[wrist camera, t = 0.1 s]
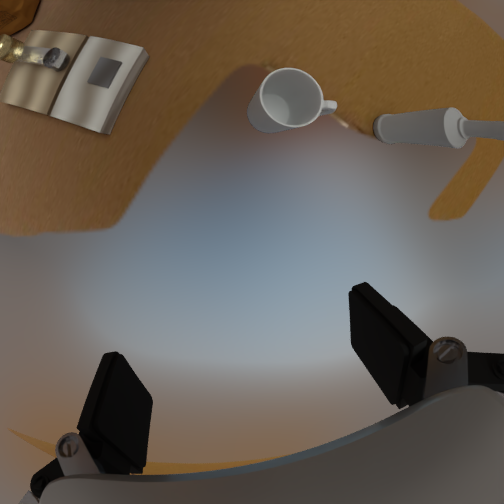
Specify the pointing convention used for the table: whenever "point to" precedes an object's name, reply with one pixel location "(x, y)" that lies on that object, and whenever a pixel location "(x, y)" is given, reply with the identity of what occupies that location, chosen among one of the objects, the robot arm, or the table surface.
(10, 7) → the coffee package
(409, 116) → the bottle
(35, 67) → the stone-look twin blocks
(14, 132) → the table surface
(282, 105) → the mug
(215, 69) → the table surface
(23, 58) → the bar
